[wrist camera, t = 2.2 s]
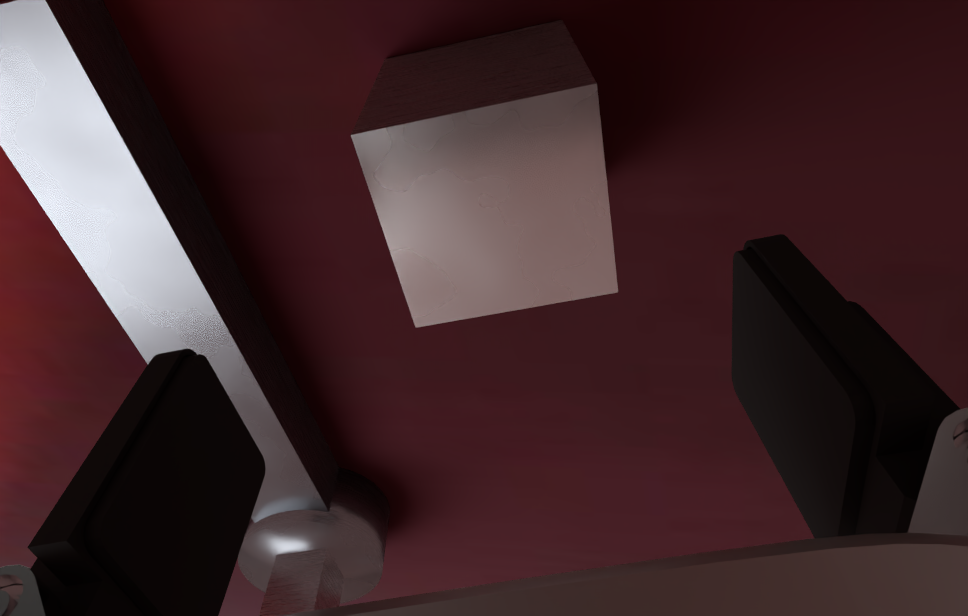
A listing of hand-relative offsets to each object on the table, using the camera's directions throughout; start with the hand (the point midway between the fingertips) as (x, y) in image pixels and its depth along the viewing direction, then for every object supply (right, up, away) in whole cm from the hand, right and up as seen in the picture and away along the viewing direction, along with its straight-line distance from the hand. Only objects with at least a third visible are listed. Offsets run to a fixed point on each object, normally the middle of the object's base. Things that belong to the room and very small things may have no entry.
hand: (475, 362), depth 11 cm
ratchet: (-9, -1, +13) cm, 16 cm away
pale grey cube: (0, +6, +8) cm, 10 cm away
